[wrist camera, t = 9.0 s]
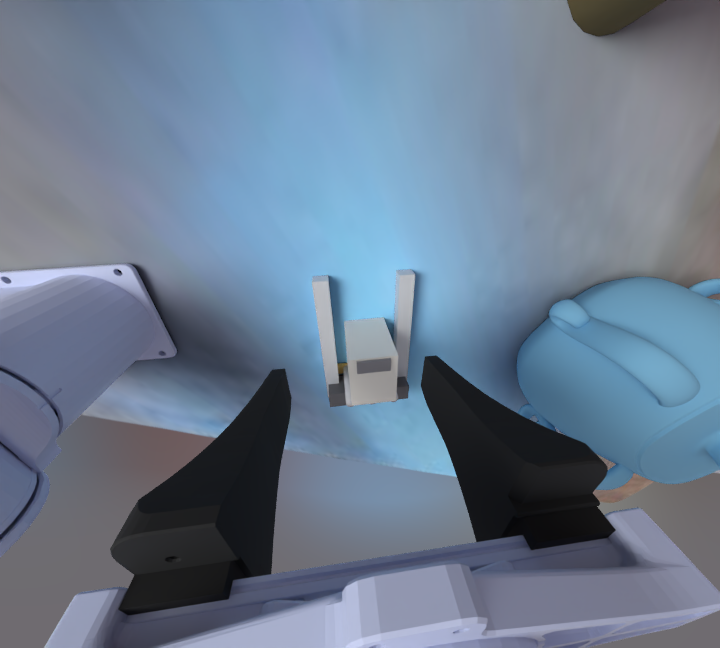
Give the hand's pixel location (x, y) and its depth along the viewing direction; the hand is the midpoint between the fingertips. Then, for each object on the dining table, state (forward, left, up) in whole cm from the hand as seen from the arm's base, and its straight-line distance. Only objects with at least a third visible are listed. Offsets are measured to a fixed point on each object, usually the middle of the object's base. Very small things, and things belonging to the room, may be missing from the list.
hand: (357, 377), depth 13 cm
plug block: (+2, -4, -9) cm, 10 cm away
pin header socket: (+2, -5, -9) cm, 11 cm away
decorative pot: (+24, -7, -10) cm, 26 cm away
